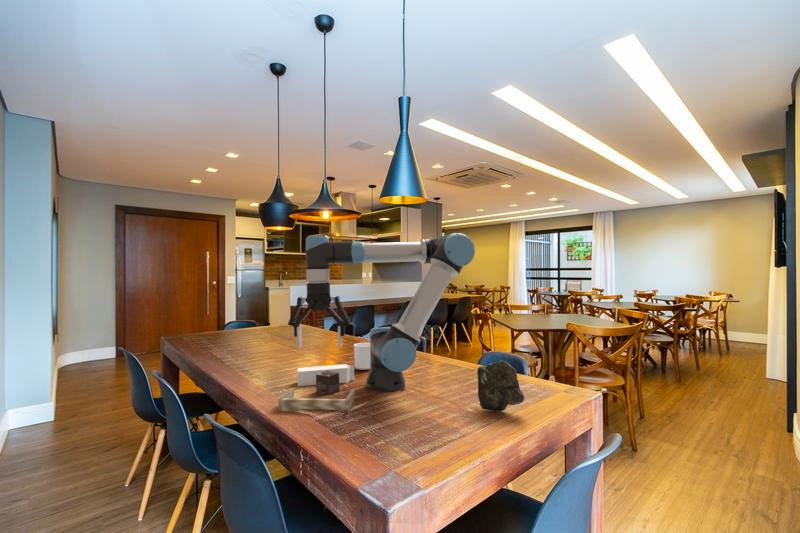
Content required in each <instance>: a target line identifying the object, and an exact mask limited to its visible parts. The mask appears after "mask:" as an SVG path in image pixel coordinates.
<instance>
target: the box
mask: <svg viewBox="0 0 800 533" xmlns="http://www.w3.org/2000/svg"><path fill="white" fill-rule="evenodd" d="M315 388H316V390H315V392H316V394H321V395H324V396H331V395H333V394H336V393H338V392H340V383H339V373H337V372H332V371H325V372H322V373H319V374H316V385H315Z"/></svg>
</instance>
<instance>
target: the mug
mask: <svg viewBox="0 0 800 533" xmlns="http://www.w3.org/2000/svg"><path fill="white" fill-rule="evenodd" d="M353 351H354V352H353V356H354V369H356V370H361V371H362V370H363V371H365V370H370V342H357V343H354V344H353Z"/></svg>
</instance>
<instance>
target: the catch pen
mask: <svg viewBox="0 0 800 533" xmlns="http://www.w3.org/2000/svg"><path fill="white" fill-rule="evenodd" d="M355 400H356V388H352V389H351V390H350V391H349V393H348V394H347V396H346V398H295V387H290V388H289V389H288V390H287V391H286V392H285V393H284V394H282V396H281V397H279V398H278V404H277V405H278V411H279V412H298V413H299V412H301V413H303V412H305V413H311V411H310V410H324V411H325V410H330V411H341V414H349V413H350V412H351V410H352V408H351V407H352V405H353V403H354V401H355Z"/></svg>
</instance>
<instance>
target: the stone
mask: <svg viewBox="0 0 800 533" xmlns="http://www.w3.org/2000/svg"><path fill="white" fill-rule="evenodd" d="M477 398H478V401H479V406H480V407H481V409H482V410H487V411H494V412H497V411H498V412H499V411H500V412H502V411H505V410H506V409H507V407H508V406H516V405H520V404H521V403H524V401H525V395H524V393H523V392H522V389H521V388H520V384H519V380H518V372H517V369H516V368H514V366H512V365H511V364H510V363H509V362H508V361H506V360H503V359H502V360H499V361H495V362H492V363H488V364H487V365H483V366H482V365H481V366H479V367H478V368H477Z"/></svg>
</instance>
